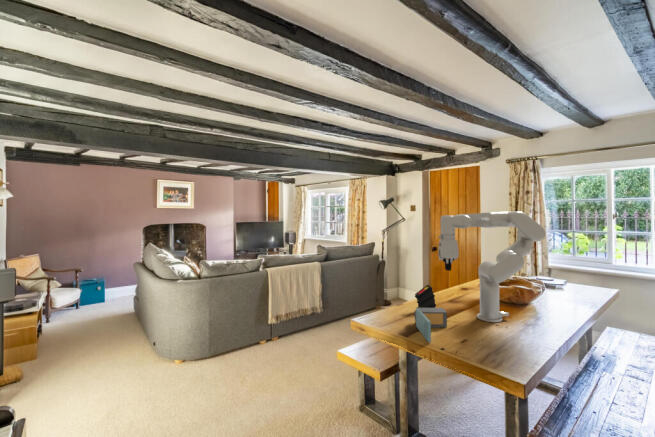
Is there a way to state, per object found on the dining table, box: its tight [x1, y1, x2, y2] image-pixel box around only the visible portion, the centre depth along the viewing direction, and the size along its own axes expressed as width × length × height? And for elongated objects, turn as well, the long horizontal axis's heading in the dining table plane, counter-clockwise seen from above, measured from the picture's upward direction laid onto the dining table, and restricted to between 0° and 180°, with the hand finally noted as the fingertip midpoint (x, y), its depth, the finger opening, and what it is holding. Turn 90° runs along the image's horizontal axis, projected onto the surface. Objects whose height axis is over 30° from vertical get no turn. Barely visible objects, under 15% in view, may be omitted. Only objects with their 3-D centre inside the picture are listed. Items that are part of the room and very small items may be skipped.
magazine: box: [414, 284, 437, 308], centre depth 183 cm, size 4×13×15 cm, turn 113°
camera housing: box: [413, 307, 448, 329], centre depth 161 cm, size 15×7×8 cm, turn 85°
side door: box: [415, 307, 432, 343], centre depth 149 cm, size 20×2×10 cm, turn 0°
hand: (448, 270), depth 170 cm, fingers closed
